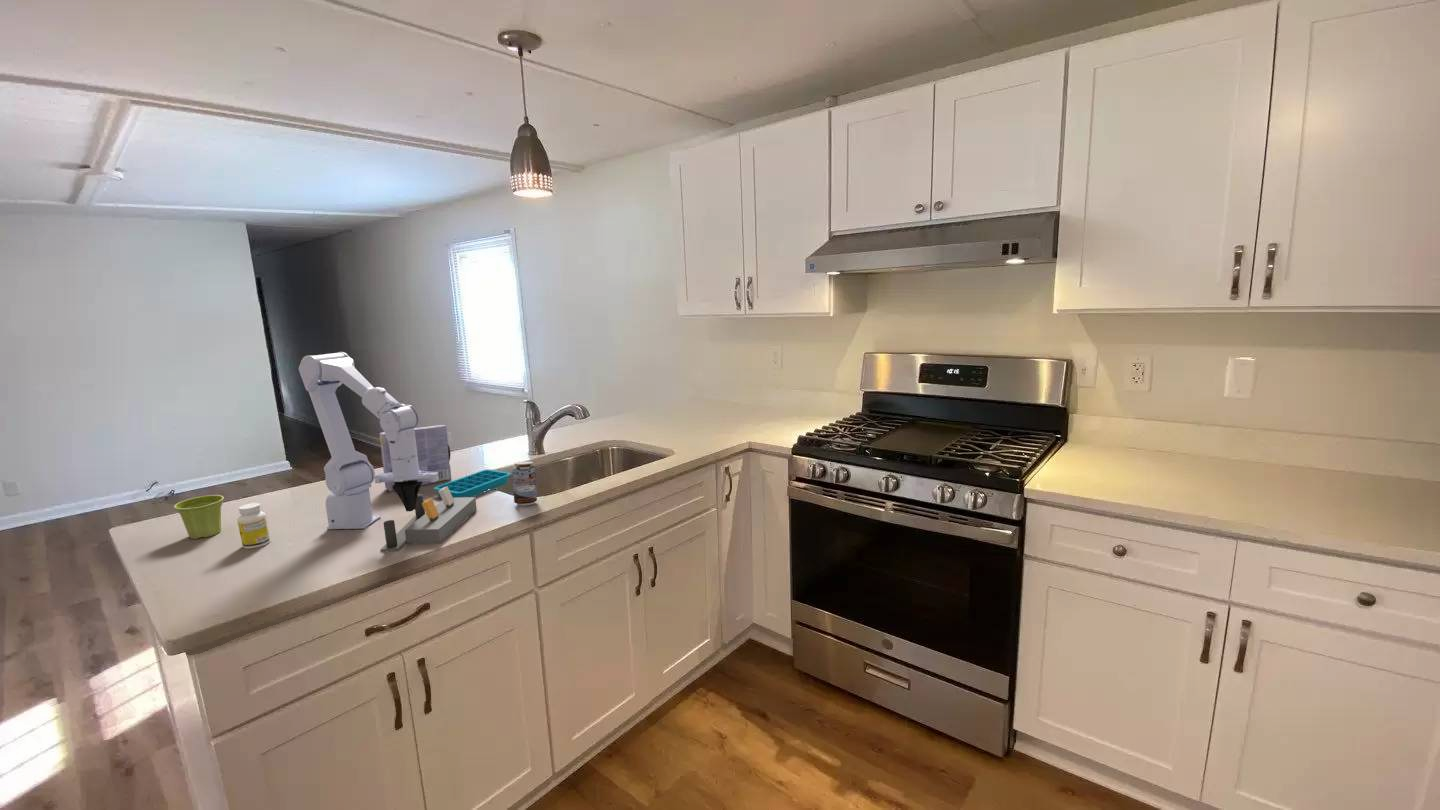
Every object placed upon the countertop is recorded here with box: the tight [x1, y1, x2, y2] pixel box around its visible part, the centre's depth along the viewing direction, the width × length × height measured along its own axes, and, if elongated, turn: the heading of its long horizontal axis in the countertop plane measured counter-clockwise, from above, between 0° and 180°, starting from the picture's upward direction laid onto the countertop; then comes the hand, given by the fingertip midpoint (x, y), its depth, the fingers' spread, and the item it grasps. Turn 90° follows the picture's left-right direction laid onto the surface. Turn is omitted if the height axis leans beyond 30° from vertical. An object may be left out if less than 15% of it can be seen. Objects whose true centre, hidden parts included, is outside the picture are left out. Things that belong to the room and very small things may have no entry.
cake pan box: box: [379, 424, 452, 492], centre depth 185 cm, size 19×5×18 cm, turn 130°
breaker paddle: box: [422, 497, 439, 521], centre depth 147 cm, size 1×3×5 cm, turn 0°
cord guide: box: [380, 493, 426, 553], centre depth 148 cm, size 4×21×7 cm, turn 7°
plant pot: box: [173, 494, 225, 540], centre depth 149 cm, size 9×9×9 cm
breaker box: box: [405, 496, 478, 545], centre depth 152 cm, size 8×22×4 cm, turn 0°
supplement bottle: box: [236, 502, 271, 550], centre depth 142 cm, size 5×5×10 cm
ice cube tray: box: [433, 469, 512, 498], centre depth 180 cm, size 12×20×3 cm, turn 154°
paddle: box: [438, 486, 454, 508], centre depth 156 cm, size 1×3×5 cm, turn 0°
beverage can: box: [512, 461, 538, 506], centre depth 166 cm, size 6×7×12 cm
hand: (410, 509), depth 147 cm, fingers closed
